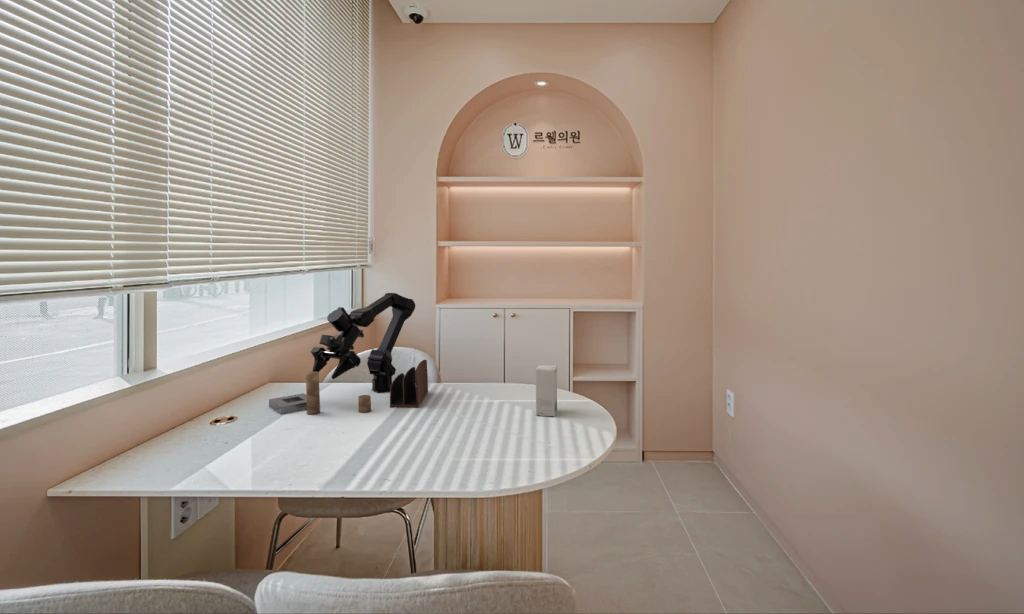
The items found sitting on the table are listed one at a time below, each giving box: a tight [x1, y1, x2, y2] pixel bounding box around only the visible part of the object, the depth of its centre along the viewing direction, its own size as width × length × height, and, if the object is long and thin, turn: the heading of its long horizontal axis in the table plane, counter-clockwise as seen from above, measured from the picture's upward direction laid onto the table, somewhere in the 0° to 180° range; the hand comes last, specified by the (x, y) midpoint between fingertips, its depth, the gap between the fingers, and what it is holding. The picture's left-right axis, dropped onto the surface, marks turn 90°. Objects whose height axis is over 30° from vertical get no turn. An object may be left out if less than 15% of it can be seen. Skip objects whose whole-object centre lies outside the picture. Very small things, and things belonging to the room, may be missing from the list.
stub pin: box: [357, 394, 372, 414], centre depth 175 cm, size 4×4×5 cm
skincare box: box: [535, 364, 558, 417], centre depth 173 cm, size 8×7×16 cm
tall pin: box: [305, 371, 321, 416], centre depth 172 cm, size 4×4×14 cm
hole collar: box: [268, 392, 307, 415], centre depth 179 cm, size 12×12×2 cm
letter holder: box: [389, 359, 429, 409], centre depth 188 cm, size 10×20×14 cm, turn 179°
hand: (322, 376), depth 175 cm, fingers open, 9 cm apart
